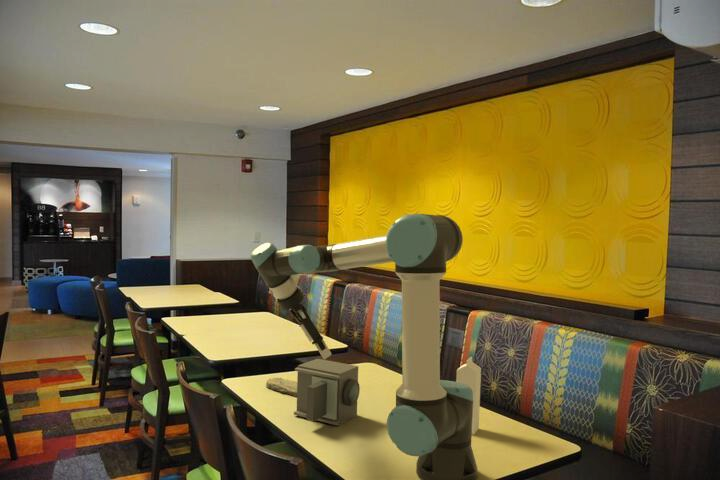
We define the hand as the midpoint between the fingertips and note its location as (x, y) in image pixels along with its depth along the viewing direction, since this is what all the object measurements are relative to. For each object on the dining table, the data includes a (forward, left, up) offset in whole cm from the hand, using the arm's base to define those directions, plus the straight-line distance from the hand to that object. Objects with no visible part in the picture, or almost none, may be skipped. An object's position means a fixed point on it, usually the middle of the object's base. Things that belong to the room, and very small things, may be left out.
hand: (320, 347), depth 167 cm
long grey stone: (+30, +10, -25) cm, 40 cm away
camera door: (0, 0, -22) cm, 22 cm away
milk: (+5, -45, -24) cm, 52 cm away
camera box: (+9, -2, -24) cm, 26 cm away
